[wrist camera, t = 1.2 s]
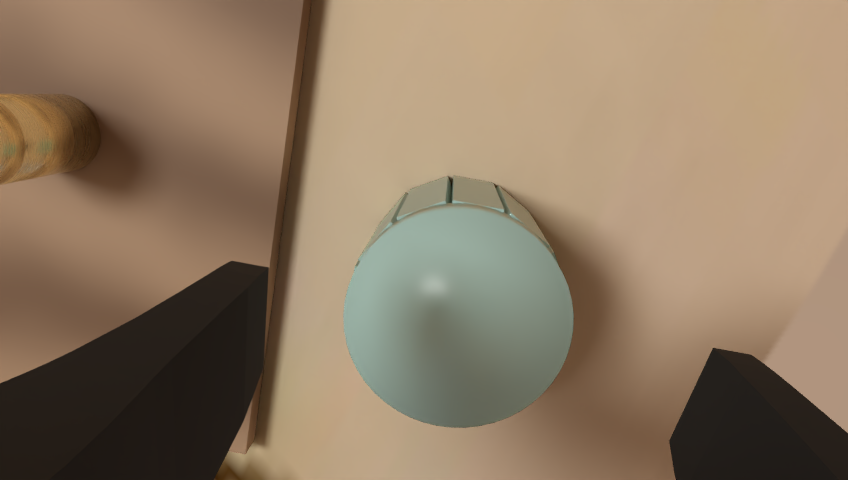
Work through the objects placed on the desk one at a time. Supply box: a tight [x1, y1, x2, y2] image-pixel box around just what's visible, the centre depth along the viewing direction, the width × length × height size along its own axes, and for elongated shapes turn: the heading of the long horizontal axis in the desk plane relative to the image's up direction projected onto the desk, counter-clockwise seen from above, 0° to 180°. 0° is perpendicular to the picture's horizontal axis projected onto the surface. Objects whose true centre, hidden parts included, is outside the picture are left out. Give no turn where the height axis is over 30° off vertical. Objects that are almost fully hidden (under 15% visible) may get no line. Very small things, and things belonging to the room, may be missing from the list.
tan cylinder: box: [0, 94, 101, 185], centre depth 18 cm, size 2×2×5 cm
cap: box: [343, 176, 574, 428], centre depth 18 cm, size 6×6×6 cm
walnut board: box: [0, 0, 312, 454], centre depth 21 cm, size 20×14×1 cm
